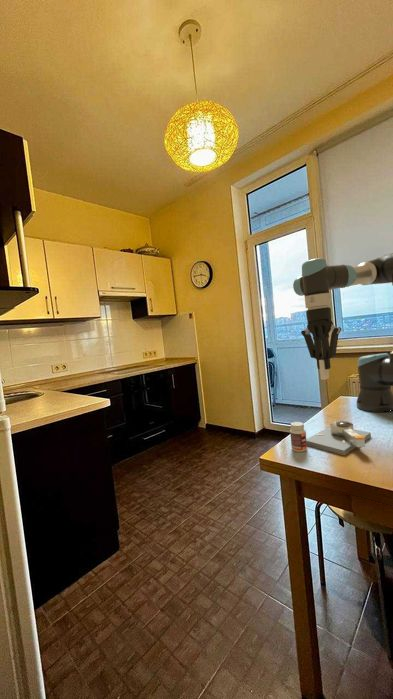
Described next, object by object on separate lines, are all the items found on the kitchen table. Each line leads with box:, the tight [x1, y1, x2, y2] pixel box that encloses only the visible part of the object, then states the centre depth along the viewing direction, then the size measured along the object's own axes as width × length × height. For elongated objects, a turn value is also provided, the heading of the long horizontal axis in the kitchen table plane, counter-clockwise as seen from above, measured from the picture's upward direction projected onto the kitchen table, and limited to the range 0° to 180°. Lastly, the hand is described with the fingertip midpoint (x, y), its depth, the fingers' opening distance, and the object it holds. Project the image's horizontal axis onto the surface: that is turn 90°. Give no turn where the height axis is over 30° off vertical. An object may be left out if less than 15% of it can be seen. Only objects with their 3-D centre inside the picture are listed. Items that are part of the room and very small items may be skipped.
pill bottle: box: [289, 421, 308, 453], centre depth 93 cm, size 5×5×8 cm
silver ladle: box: [329, 420, 366, 448], centre depth 93 cm, size 16×7×4 cm, turn 177°
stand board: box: [306, 426, 372, 456], centre depth 96 cm, size 18×14×2 cm
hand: (325, 378), depth 96 cm, fingers closed
